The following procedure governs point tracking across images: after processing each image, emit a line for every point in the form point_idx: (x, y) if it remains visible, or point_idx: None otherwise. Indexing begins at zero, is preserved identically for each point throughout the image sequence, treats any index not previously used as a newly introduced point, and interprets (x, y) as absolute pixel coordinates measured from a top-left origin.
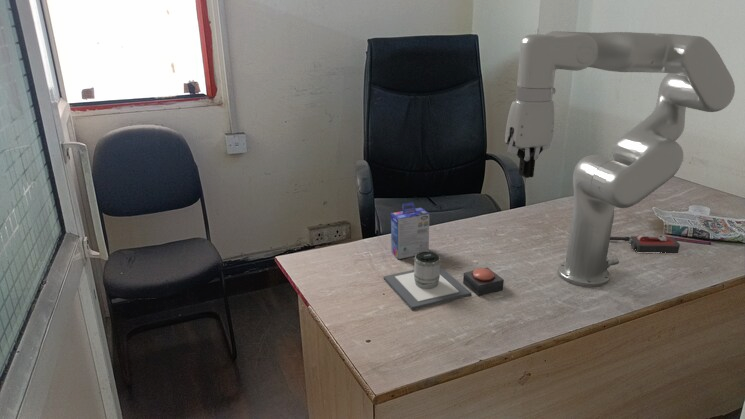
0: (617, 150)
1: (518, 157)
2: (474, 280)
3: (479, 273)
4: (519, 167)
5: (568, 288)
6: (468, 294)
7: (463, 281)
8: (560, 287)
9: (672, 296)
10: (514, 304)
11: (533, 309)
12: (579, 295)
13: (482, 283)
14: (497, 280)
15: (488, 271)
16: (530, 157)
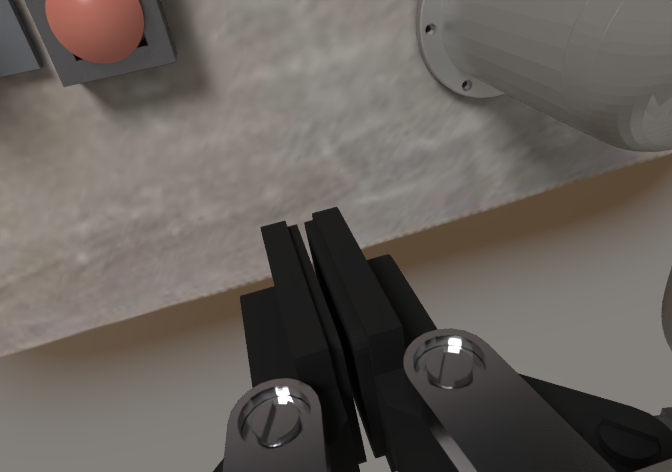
0: None
1: (236, 421)
2: (49, 43)
3: (75, 14)
4: (245, 327)
5: (396, 83)
6: (28, 70)
7: None
8: (376, 72)
9: (604, 168)
10: (187, 143)
11: (235, 176)
12: (401, 127)
13: (80, 73)
14: (148, 62)
15: (121, 5)
16: (395, 462)
